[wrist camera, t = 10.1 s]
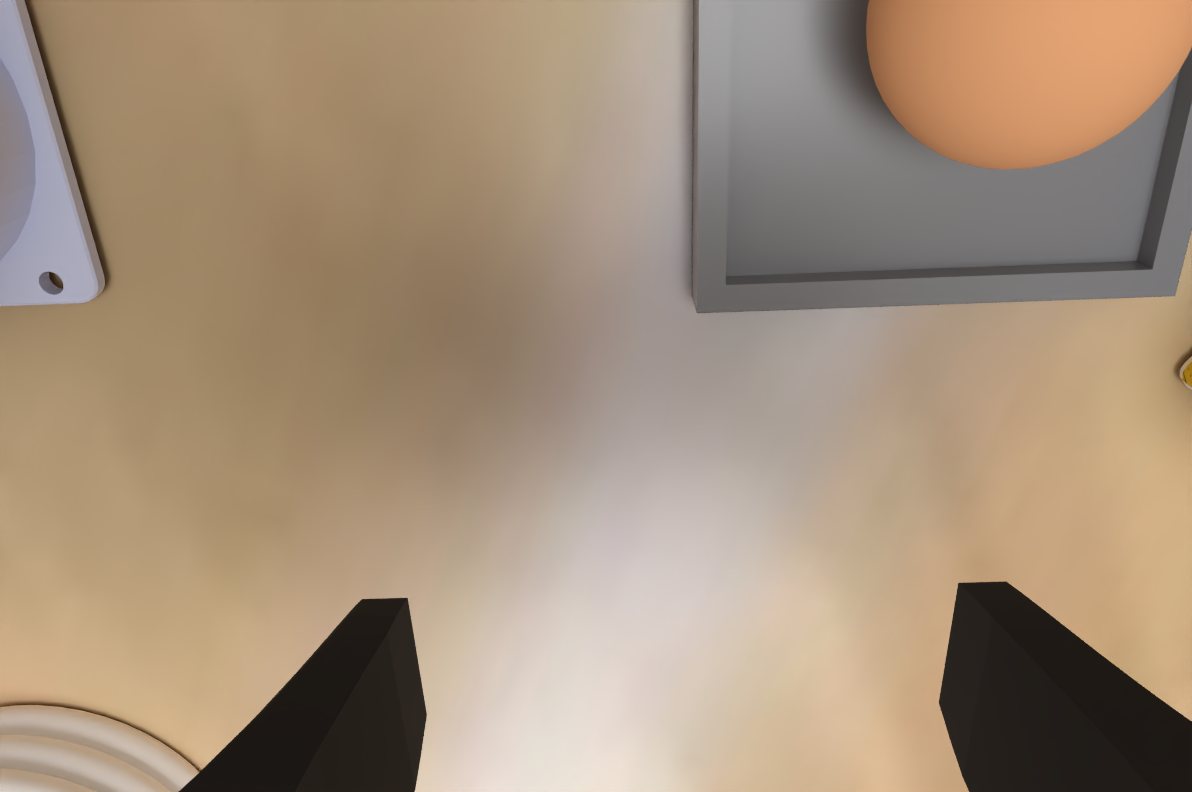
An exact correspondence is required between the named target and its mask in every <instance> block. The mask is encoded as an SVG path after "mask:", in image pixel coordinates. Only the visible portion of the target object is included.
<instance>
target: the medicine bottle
mask: <svg viewBox="0 0 1192 792" xmlns="http://www.w3.org/2000/svg"><path fill="white" fill-rule="evenodd" d="M1180 378H1181V379H1182V381H1183V383H1184V384H1185V386H1186V387H1188V388H1189V389H1191V390H1192V356H1191V357H1190V358H1189V359H1188V360H1187V361H1186V362H1185V363H1184V364H1183V366H1182V367H1181V369H1180Z"/></svg>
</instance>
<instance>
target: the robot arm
mask: <svg viewBox="0 0 1192 792" xmlns="http://www.w3.org/2000/svg"><path fill="white" fill-rule="evenodd" d="M49 272H53V273H55V274H56V275H58V276H59V277H60V278H61V280H62V281H63V289H62V288H58V287H57V286H55V285H54V284H53V283H52V282H51V280H50V278H49ZM104 286H105V278H104V274H103V270H102V267H101V263H100V260H99V256H98V253H97V249H96V246H95V242H94V239H93V236H92V232H91V229H90V225H89V222H88V218H87V215H86V211H85V208H84V204H83V201H82V198H81V194H80V191H79V187H78V184H77V180H76V177H75V173H74V170H73V166H72V163H71V160H70V156H69V153H68V149H67V146H66V142H65V139H64V135H63V132H62V128H61V125H60V122H59V118H58V115H57V111H56V108H55V104H54V101H53V97H52V94H51V90H50V87H49V84H48V80H47V77H46V73H45V70H44V66H43V63H42V59H41V56H40V52H39V49H38V46H37V42H36V39H35V35H34V32H33V28H32V25H31V21H30V18H29V14H28V11H27V7H26V4H25V1H24V0H0V306H22V305H50V304H77V303H85V302H89V301H91V300H92V299H94V298H96V297H97V296H98V295H99V294H101V293H102V292H103V289H104ZM939 704H940V708H941V711H942V714H943V717H944V721H945V724H946V727H947V730H948V734H949V737H950V740H951V743H952V746H953V749H954V752H955V755H956V758H957V761H958V764H959V767H960V770H961V773H962V776H963V779H964V781H965V783H966V785H967V788H968V790H969V792H1192V721H1190V720H1189V719H1187V718H1186V717H1184V716H1183V715H1181V714H1180V713H1179V712H1177V711H1176V710H1175V709H1173V708H1172V707H1170V706H1169V705H1168V704H1166V703H1165V702H1163V701H1162V700H1161V699H1159V698H1158V697H1156V696H1155V695H1154V694H1152V693H1151V692H1150V691H1148V690H1147V689H1146V688H1144V687H1143V686H1142V685H1140V684H1139V683H1137V682H1136V681H1135V680H1134V679H1132V678H1131V677H1130V676H1128V675H1127V674H1126V673H1124V672H1123V671H1122V670H1120V669H1119V668H1118V667H1116V666H1115V665H1114V664H1112V663H1111V662H1110V661H1108V660H1107V659H1106V658H1105V657H1103V656H1102V655H1101V654H1099V653H1098V652H1097V651H1095V650H1094V649H1093V648H1092V647H1090V646H1089V645H1088V644H1086V643H1085V642H1084V641H1083V640H1081V639H1080V638H1079V637H1078V636H1076V635H1075V634H1074V633H1072V632H1071V631H1070V630H1069V629H1067V628H1066V627H1065V626H1063V625H1062V624H1061V623H1060V622H1058V621H1057V620H1056V619H1055V618H1053V617H1052V616H1051V615H1049V614H1048V613H1047V612H1046V611H1044V610H1043V609H1042V608H1041V607H1039V606H1038V605H1037V604H1035V603H1034V602H1033V601H1032V600H1030V599H1029V598H1028V597H1026V596H1025V595H1024V594H1022V593H1021V592H1020V591H1018V590H1017V589H1016V588H1014V587H1013V586H1011V585H1010V584H1009V583H1007V582H976V583H958V589H957V595H956V601H955V607H954V613H953V620H952V626H951V632H950V638H949V644H948V650H947V656H946V662H945V669H944V675H943V681H942V687H941V693H940V699H939ZM426 716H427V714H426V708H425V702H424V695H423V689H422V683H421V677H420V671H419V665H418V659H417V653H416V647H415V641H414V634H413V628H412V622H411V616H410V610H409V604H408V598H389V599H362V600H361V601H360V602H359V603H358V604H357V605H356V606H355V607H354V608H353V609H352V610H351V611H350V612H349V614H348V615H347V616H346V617H345V618H344V619H343V620H342V621H341V623H340V624H339V625H338V626H337V627H336V628H335V629H334V631H333V632H332V633H331V634H330V635H329V636H328V638H327V639H326V640H325V641H324V642H323V643H322V644H321V646H320V647H319V648H318V649H317V650H316V651H315V652H314V654H313V655H312V656H311V657H310V658H309V659H308V660H307V661H306V663H305V664H304V665H303V666H302V667H301V668H300V669H299V670H298V672H297V673H296V674H295V675H294V676H293V677H292V678H291V679H290V680H289V681H288V682H287V684H286V685H285V686H284V687H283V688H282V689H281V690H280V691H279V692H278V693H277V694H276V695H275V697H274V698H273V699H272V700H271V701H270V702H269V703H268V704H267V705H266V706H265V707H264V708H263V710H262V711H261V712H260V713H259V714H258V715H257V716H256V717H255V718H254V719H253V720H252V721H251V722H250V723H249V724H248V725H247V726H246V727H245V728H244V729H243V730H242V731H241V732H240V733H239V734H238V735H237V736H236V737H235V738H234V739H233V740H232V741H231V742H230V743H229V744H228V745H227V746H226V747H225V748H224V749H223V750H222V751H221V752H220V753H219V754H218V755H217V756H216V757H215V758H214V759H213V760H212V761H211V762H210V763H209V764H208V765H207V766H206V767H205V768H204V769H202V770H201V771H200V772H199V773H198V774H197V775H196V776H195V777H194V778H193V779H192V780H191V781H190V782H188V783H187V784H186V785H185V786H184V787H183V788H182V789H181V790H180V791H179V792H414V791H415V787H416V781H417V775H418V769H419V763H420V757H421V750H422V743H423V736H424V730H425V723H426Z"/></svg>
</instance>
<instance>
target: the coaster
mask: <svg viewBox="0 0 1192 792" xmlns="http://www.w3.org/2000/svg"><path fill="white" fill-rule="evenodd" d="M198 773H199V772H198V771H197V770H196V768H195V767H194V766H192V765H191V764H190V763H189V762H188V761H186V760H185V759H184V758H183V757H182V756H181V755H179V754H178V753H177V752H175V751H174V750H172V749H171V748H169V747H168V746H166V745H165V744H163V743H162V742H160V741H158V740H157V739H155V738H153V737H151V736H149V735H148V734H146V733H144V732H142V731H140V730H138V729H135V728H133V727H131V726H129V725H127V724H124V723H122V722H119V721H116V720H113V719H110V718H108V717H105V716H101V715H97V714H94V713H90V712H86V711H82V710H76V709H70V708H64V707H56V706H43V705H13V706H6V707H0V792H179V791H180V790H181V789H182V788H183V787H184V786H185V785H186V784H187V783H188V782H190V781H191V780H192V779H193V778H194V777H195V776H196V775H197V774H198Z"/></svg>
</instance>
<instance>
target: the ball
mask: <svg viewBox="0 0 1192 792" xmlns="http://www.w3.org/2000/svg"><path fill="white" fill-rule="evenodd" d="M866 37H867V51H868V57H869V62H870V68H871V71H872V74H873V77H874V81H875V84H876V86H877V88H878V90H879V92H880V95H881V97H882V99H883V101H884V102H885V104H886V105H887V107H888V108H889V110H890V111H891V113H892V114H893V116H894V117H895V118H896V120H897V121H898V122H899V123H900V124H901V125H902V126H903V127H904V128H905V130H906V131H907V132H908V133H909V134H911V135H912V136H913V137H914V138H916V139H917V140H918V141H919V142H921V143H922V144H924V145H925V146H927V147H928V148H930V149H932V150H934V151H935V152H937V153H939V154H941V155H942V156H945V157H947V158H950V159H952V160H955V161H958V162H961V163H965V164H969V165H973V166H977V167H982V168H990V169H1026V168H1034V167H1039V166H1044V165H1049V164H1053V163H1057V162H1060V161H1063V160H1066V159H1069V158H1072V157H1075V156H1078V155H1080V154H1082V153H1085V152H1087V151H1089V150H1091V149H1093V148H1095V147H1097V146H1099V145H1100V144H1102V143H1104V142H1105V141H1107V140H1109V139H1110V138H1112V137H1114V136H1115V135H1117V134H1119V133H1120V132H1121V131H1123V130H1124V129H1125V128H1127V127H1128V126H1129V125H1131V124H1132V123H1133V122H1135V121H1136V120H1137V119H1138V118H1139V117H1140V116H1141V115H1142V114H1143V113H1144V112H1146V111H1147V110H1148V109H1149V108H1150V107H1151V106H1152V104H1153V103H1154V102H1155V101H1156V100H1157V99H1158V98H1159V97H1160V95H1161V94H1162V93H1163V92H1164V91H1165V90H1166V88H1167V87H1168V86H1169V84H1170V83H1171V81H1172V80H1173V79H1174V77H1175V76H1176V74H1177V73H1178V72H1179V70H1180V68H1181V67H1182V65H1183V63H1184V61H1185V60H1186V58H1187V56H1188V54H1189V52H1190V50H1191V48H1192V0H869V3H868V9H867V22H866Z"/></svg>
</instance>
